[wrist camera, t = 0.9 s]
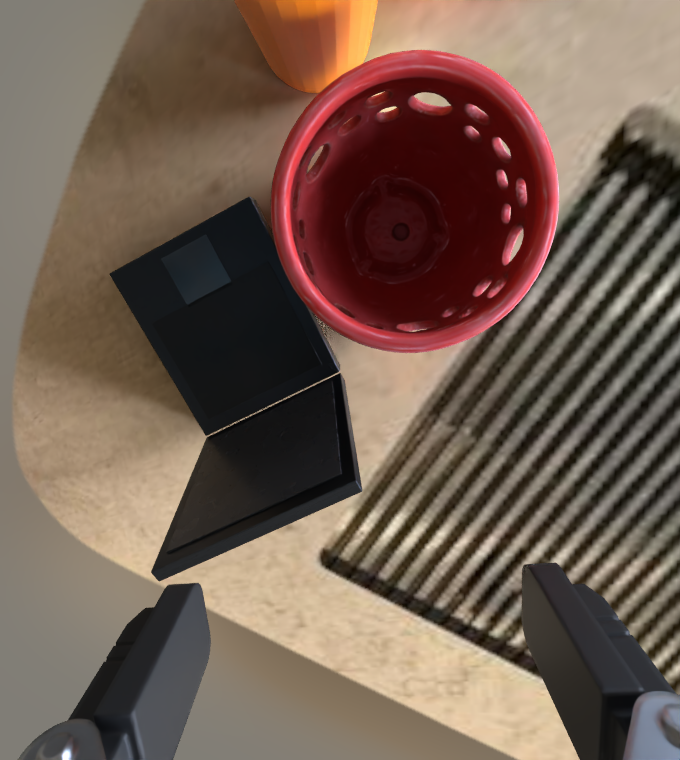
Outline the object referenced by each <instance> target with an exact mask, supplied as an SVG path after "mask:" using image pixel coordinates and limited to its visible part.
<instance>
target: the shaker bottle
mask: <svg viewBox="0 0 680 760" xmlns="http://www.w3.org/2000/svg"><path fill="white" fill-rule="evenodd" d="M234 1H235V3H236V5H237V7H238V9H239V11H240V12H241V14H242V16H243V18H244V20H245V22H246V23H247V25H248V27H249V29H250V31H251V33H252V34H253V36H254V38H255V40H256V42H257V44H258V46H259V47H260V49H261V51H262V53H263V55H264V57H265V58H266V60H267V62H268V64H269V66H270V67H271V69H272V70H273V71H274V73H275V74H276V75H277V76H278V77H279V78H280V79H281V80H282V81H284V82H285V83H286V84H288V85H289V86H291V87H293V88H295V89H297V90H300V91H304V92H309V93H320V92H321V91H322V90H323V89H324V88H326V87H327V86H328V85H329V84H330V83H331V82H333V81H334V80H335V79H337V78H338V77H340V76H341V75H342V74H344V73H346V72H348V71H349V70H351V69H353V68H355V67H357V66H359V65H361V64H362V63H363V61H364V59H365V57H366V55H367V52H368V48H369V44H370V40H371V35H372V29H373V24H374V18H375V13H376V8H377V2H378V0H234Z"/></svg>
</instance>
